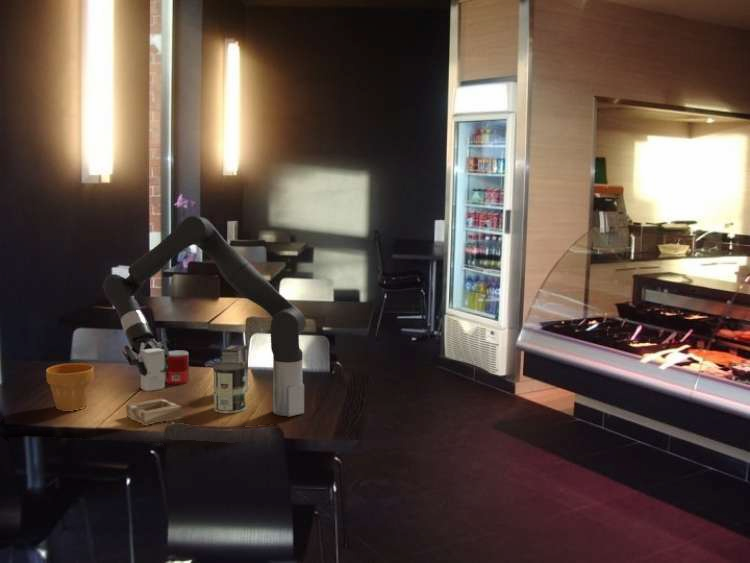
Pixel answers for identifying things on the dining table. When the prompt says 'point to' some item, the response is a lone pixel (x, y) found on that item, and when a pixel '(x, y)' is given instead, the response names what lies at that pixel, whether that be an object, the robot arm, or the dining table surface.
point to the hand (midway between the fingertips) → (155, 372)
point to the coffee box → (237, 357)
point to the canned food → (177, 367)
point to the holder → (154, 411)
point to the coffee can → (229, 387)
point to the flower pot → (70, 384)
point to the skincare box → (153, 369)
